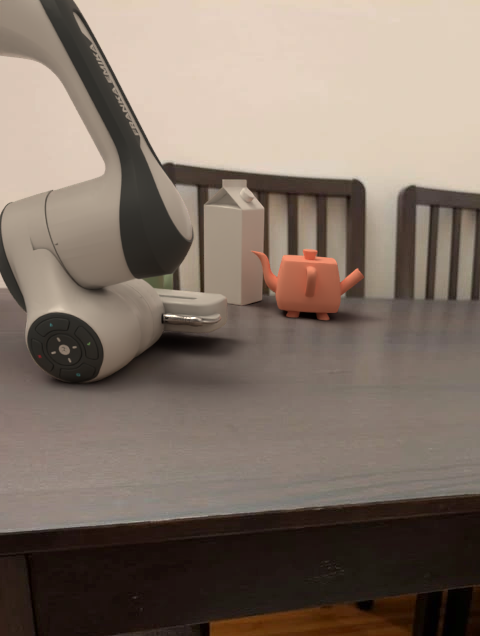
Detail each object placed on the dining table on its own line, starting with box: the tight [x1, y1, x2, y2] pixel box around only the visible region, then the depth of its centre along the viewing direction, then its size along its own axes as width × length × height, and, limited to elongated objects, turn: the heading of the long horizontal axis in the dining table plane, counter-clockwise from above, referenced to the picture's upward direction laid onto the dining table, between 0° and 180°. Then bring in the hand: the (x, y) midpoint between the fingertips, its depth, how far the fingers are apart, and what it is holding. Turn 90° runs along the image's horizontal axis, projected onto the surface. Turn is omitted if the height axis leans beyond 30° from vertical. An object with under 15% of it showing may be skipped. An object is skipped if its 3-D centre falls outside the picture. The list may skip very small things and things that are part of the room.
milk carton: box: [203, 179, 265, 306], centre depth 119 cm, size 7×7×19 cm
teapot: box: [252, 248, 365, 321], centre depth 115 cm, size 14×12×10 cm
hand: (159, 295), depth 94 cm, fingers closed
